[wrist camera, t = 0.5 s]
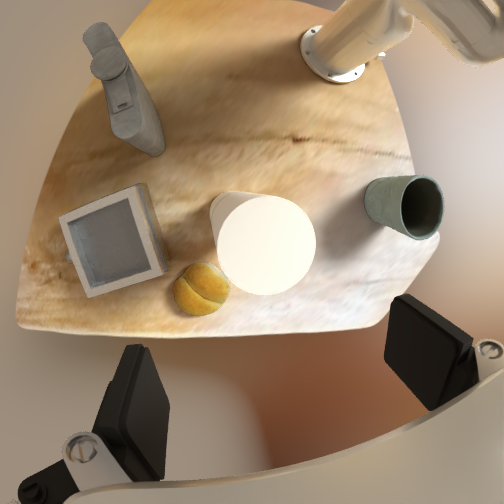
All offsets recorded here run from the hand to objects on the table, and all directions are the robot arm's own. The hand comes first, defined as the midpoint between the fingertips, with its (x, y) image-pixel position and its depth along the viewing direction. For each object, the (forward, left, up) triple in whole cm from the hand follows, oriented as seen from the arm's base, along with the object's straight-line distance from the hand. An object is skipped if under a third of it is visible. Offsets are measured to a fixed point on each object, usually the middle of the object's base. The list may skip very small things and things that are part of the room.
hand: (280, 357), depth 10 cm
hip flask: (+7, -21, -36) cm, 42 cm away
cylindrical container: (-2, -1, -36) cm, 36 cm away
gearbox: (+17, -3, -36) cm, 40 cm away
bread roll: (+6, +9, -36) cm, 38 cm away
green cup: (-29, +4, -36) cm, 47 cm away
